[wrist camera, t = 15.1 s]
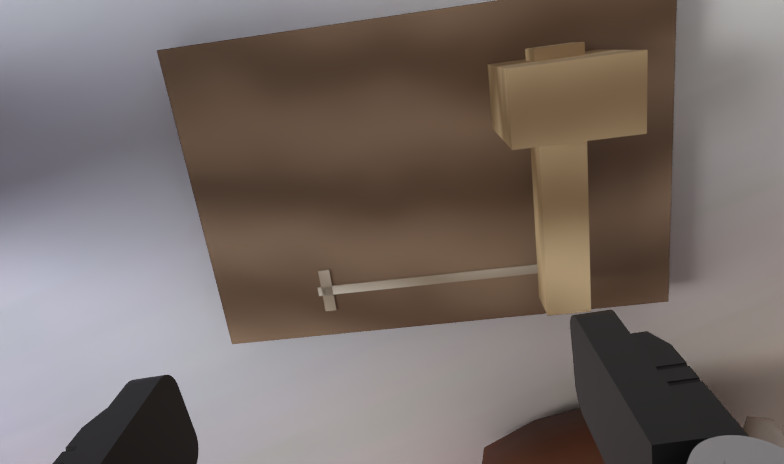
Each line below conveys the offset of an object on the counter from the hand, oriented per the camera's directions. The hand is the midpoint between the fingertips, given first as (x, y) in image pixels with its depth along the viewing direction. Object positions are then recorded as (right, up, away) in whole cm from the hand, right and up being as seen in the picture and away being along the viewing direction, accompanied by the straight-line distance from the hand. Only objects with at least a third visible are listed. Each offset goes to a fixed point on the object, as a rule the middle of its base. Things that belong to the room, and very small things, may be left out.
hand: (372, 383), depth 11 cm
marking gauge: (+8, +6, +16) cm, 19 cm away
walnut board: (+2, +6, +19) cm, 20 cm away
